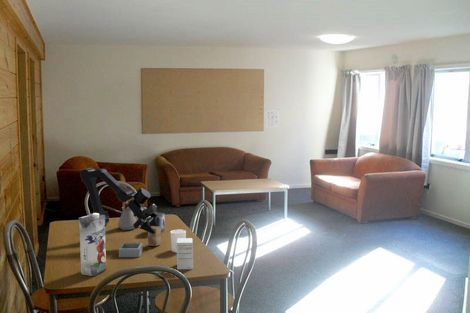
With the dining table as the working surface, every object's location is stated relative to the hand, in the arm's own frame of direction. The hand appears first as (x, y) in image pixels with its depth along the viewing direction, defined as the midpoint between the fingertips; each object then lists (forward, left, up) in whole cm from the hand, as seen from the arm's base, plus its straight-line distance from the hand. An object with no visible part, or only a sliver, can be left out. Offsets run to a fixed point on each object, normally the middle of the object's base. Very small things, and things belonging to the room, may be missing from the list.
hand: (156, 232), depth 261 cm
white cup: (+12, -7, -8) cm, 16 cm away
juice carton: (-23, -38, -8) cm, 46 cm away
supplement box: (+17, -31, -8) cm, 37 cm away
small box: (-3, +27, -8) cm, 28 cm away
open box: (-11, -12, -7) cm, 18 cm away
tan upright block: (-1, +1, -7) cm, 7 cm away
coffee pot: (-26, +34, -8) cm, 43 cm away
